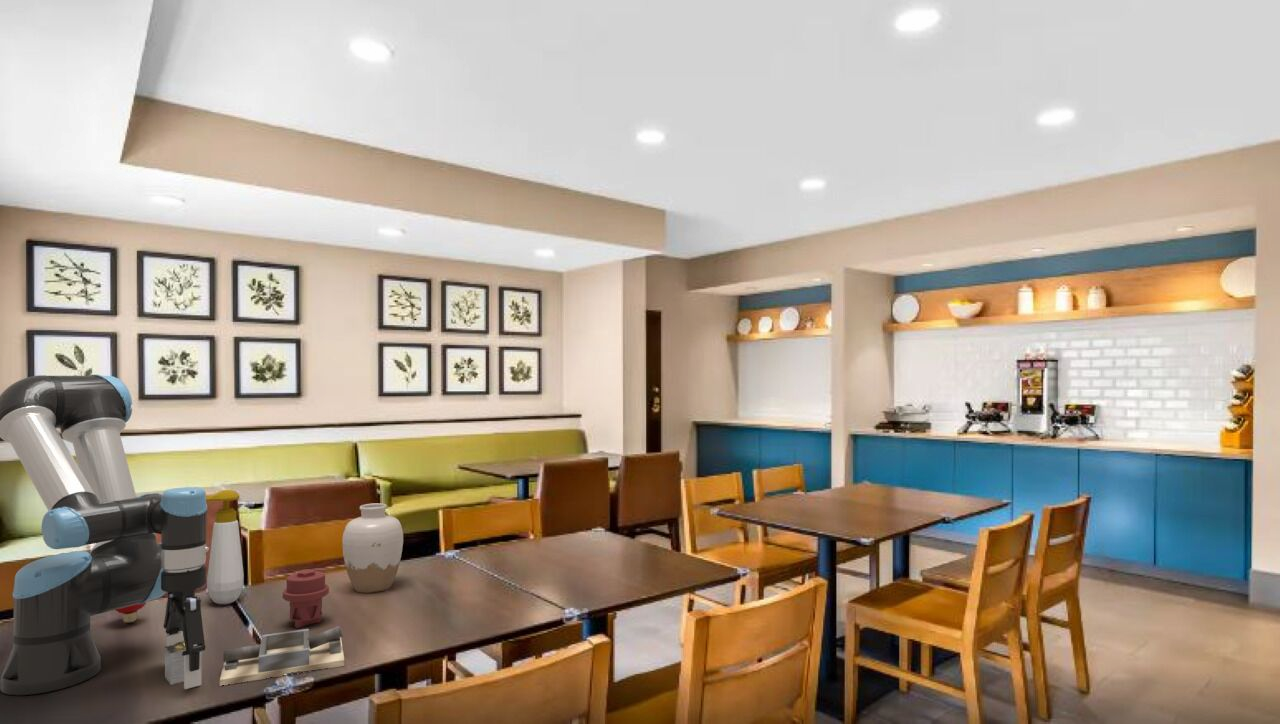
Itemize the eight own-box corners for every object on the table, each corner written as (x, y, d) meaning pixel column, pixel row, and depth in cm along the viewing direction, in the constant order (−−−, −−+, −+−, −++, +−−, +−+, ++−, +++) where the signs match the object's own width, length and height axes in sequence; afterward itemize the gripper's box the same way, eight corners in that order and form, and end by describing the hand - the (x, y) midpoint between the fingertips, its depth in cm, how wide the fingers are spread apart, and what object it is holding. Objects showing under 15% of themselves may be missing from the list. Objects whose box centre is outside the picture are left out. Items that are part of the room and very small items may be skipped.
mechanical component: (337, 617, 175) (310, 632, 165) (301, 614, 177) (272, 629, 167) (337, 566, 175) (311, 578, 165) (301, 564, 177) (273, 575, 167)
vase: (381, 576, 210) (381, 498, 210) (414, 585, 201) (415, 504, 201) (330, 589, 197) (330, 506, 197) (364, 600, 188) (364, 513, 188)
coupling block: (171, 685, 137) (171, 650, 137) (164, 677, 141) (165, 643, 141) (200, 677, 141) (201, 643, 141) (193, 669, 144) (194, 636, 144)
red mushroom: (152, 624, 170) (152, 582, 170) (116, 632, 165) (117, 588, 165) (142, 615, 177) (142, 574, 177) (107, 622, 172) (108, 580, 172)
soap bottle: (195, 599, 189) (196, 489, 189) (240, 592, 195) (240, 485, 195) (200, 612, 179) (200, 495, 179) (246, 604, 185) (247, 491, 185)
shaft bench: (219, 686, 136) (219, 654, 137) (226, 659, 149) (226, 630, 149) (344, 665, 146) (344, 636, 146) (341, 642, 158) (341, 615, 159)
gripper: (224, 575, 135) (223, 689, 134) (189, 553, 152) (188, 653, 152) (177, 584, 130) (177, 702, 129) (147, 559, 147) (146, 663, 147)
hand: (183, 676), depth 141 cm, fingers open, 13 cm apart
